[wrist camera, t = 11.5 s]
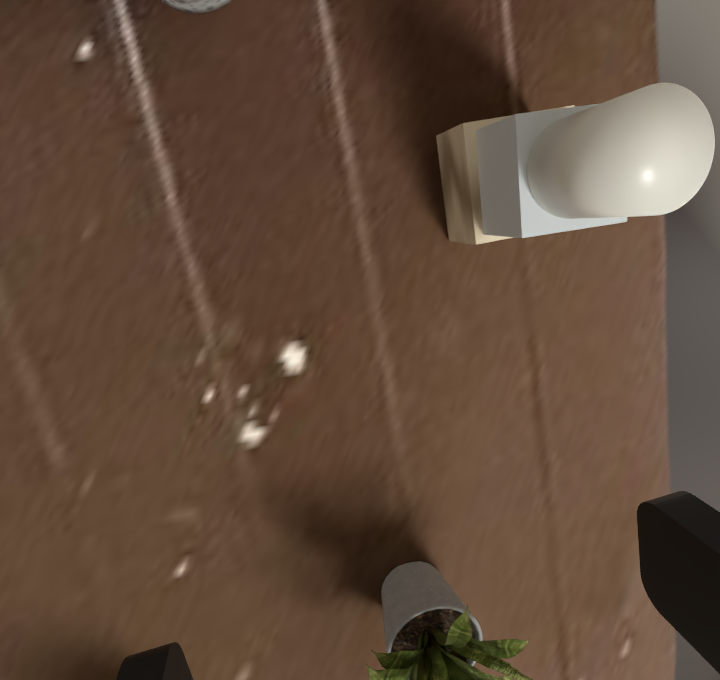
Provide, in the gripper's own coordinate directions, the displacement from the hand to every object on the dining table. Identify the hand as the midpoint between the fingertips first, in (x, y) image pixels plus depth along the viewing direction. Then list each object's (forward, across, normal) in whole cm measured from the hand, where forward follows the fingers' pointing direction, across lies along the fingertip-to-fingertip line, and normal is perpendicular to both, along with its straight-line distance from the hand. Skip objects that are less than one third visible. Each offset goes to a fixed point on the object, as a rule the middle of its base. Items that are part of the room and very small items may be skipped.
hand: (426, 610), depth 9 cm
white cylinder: (+18, -15, -6) cm, 24 cm away
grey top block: (+23, -15, -6) cm, 28 cm away
